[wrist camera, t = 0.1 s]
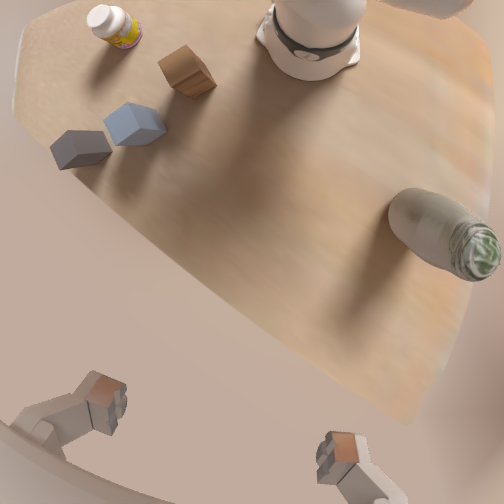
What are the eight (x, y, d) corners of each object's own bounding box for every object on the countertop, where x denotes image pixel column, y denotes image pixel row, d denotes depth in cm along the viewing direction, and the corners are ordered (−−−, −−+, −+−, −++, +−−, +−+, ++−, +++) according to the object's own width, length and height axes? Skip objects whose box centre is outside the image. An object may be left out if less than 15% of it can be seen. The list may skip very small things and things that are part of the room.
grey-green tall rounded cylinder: (431, 190, 52) (525, 225, 26) (420, 240, 55) (500, 305, 29) (387, 178, 52) (469, 206, 26) (376, 232, 56) (442, 297, 29)
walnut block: (181, 77, 50) (157, 62, 39) (204, 64, 49) (186, 44, 37) (192, 99, 51) (170, 87, 40) (216, 85, 50) (200, 69, 39)
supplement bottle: (109, 44, 48) (75, 27, 36) (126, 18, 46) (95, -4, 34) (132, 53, 49) (99, 36, 36) (150, 26, 47) (121, 3, 34)
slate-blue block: (135, 123, 53) (103, 120, 42) (156, 109, 52) (127, 102, 41) (146, 145, 54) (115, 145, 43) (167, 131, 53) (140, 128, 42)
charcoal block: (85, 144, 55) (49, 147, 44) (102, 131, 54) (67, 130, 43) (95, 164, 56) (59, 170, 45) (112, 151, 55) (78, 154, 44)
